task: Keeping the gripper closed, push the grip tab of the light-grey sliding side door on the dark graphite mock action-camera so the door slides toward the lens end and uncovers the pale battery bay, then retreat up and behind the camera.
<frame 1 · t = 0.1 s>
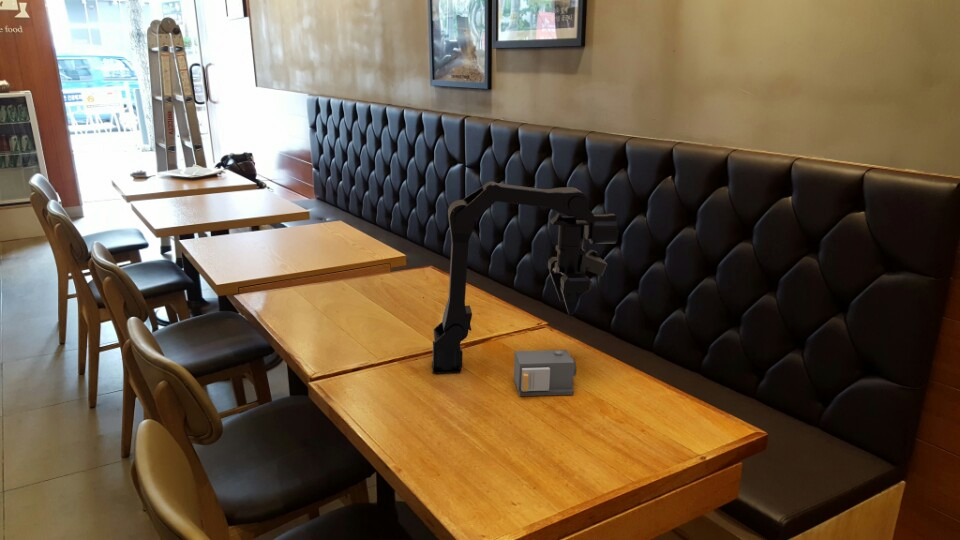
hand: (566, 308, 159), 14 cm above the table, fingers open, 9 cm apart
side door: (535, 380, 145), point 4 cm above the table, slide at 0.0 cm
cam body: (542, 385, 151), on the table
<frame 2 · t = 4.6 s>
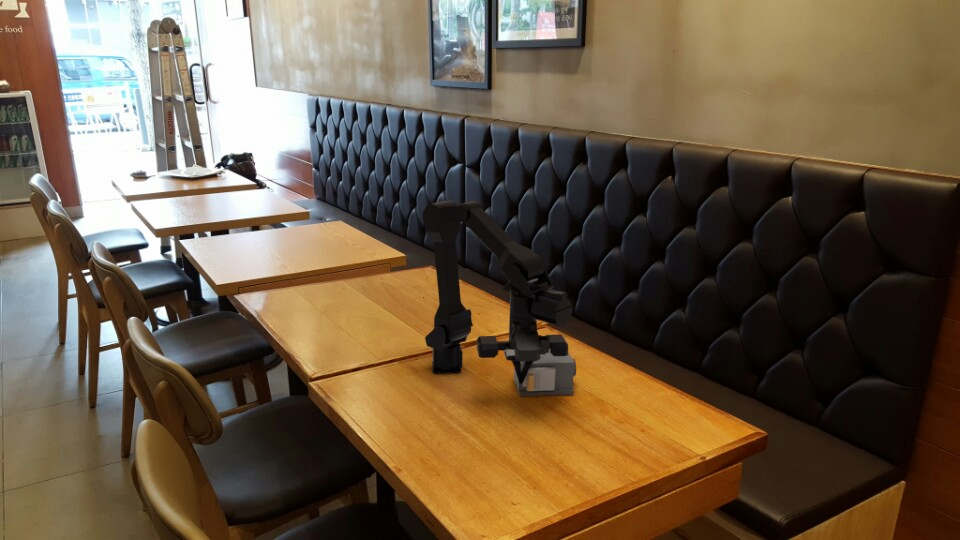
hand: (520, 383, 144), 4 cm above the table, fingers closed
side door: (541, 380, 146), point 4 cm above the table, slide at 1.2 cm, touching gripper
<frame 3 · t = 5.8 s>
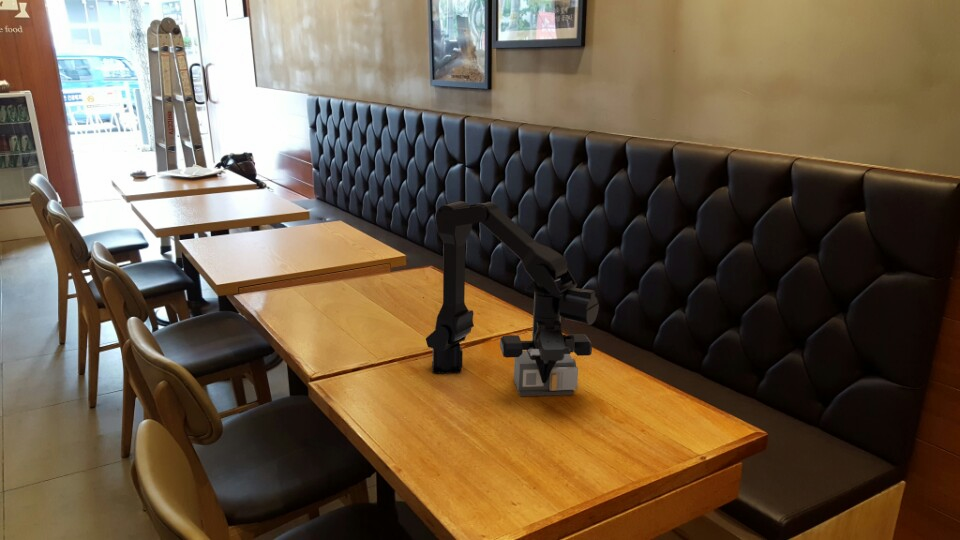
hand: (543, 382, 145), 4 cm above the table, fingers closed
side door: (564, 379, 146), point 4 cm above the table, slide at 6.2 cm, touching gripper
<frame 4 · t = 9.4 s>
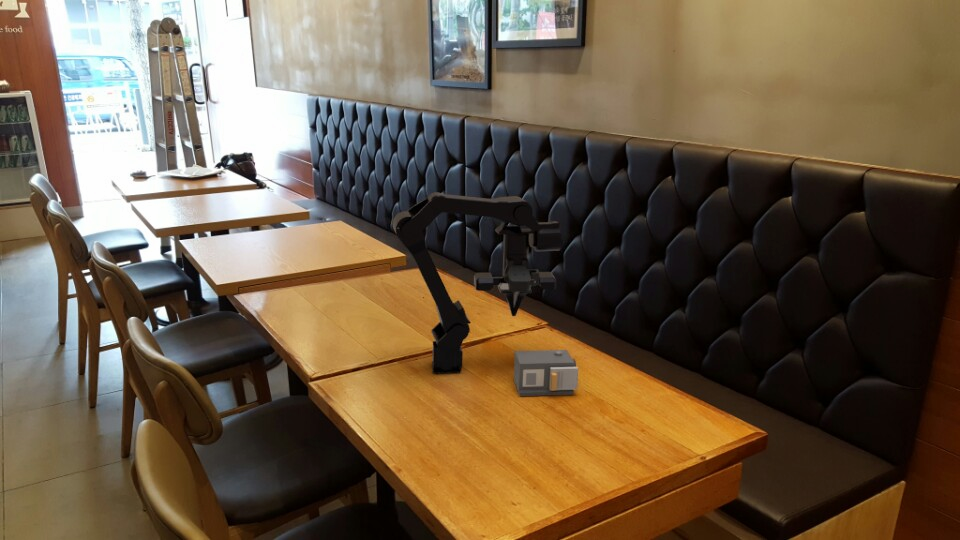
hand: (513, 315, 160), 12 cm above the table, fingers closed
side door: (564, 379, 146), point 4 cm above the table, slide at 6.2 cm
at the end: side door slide at 6.2 cm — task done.
